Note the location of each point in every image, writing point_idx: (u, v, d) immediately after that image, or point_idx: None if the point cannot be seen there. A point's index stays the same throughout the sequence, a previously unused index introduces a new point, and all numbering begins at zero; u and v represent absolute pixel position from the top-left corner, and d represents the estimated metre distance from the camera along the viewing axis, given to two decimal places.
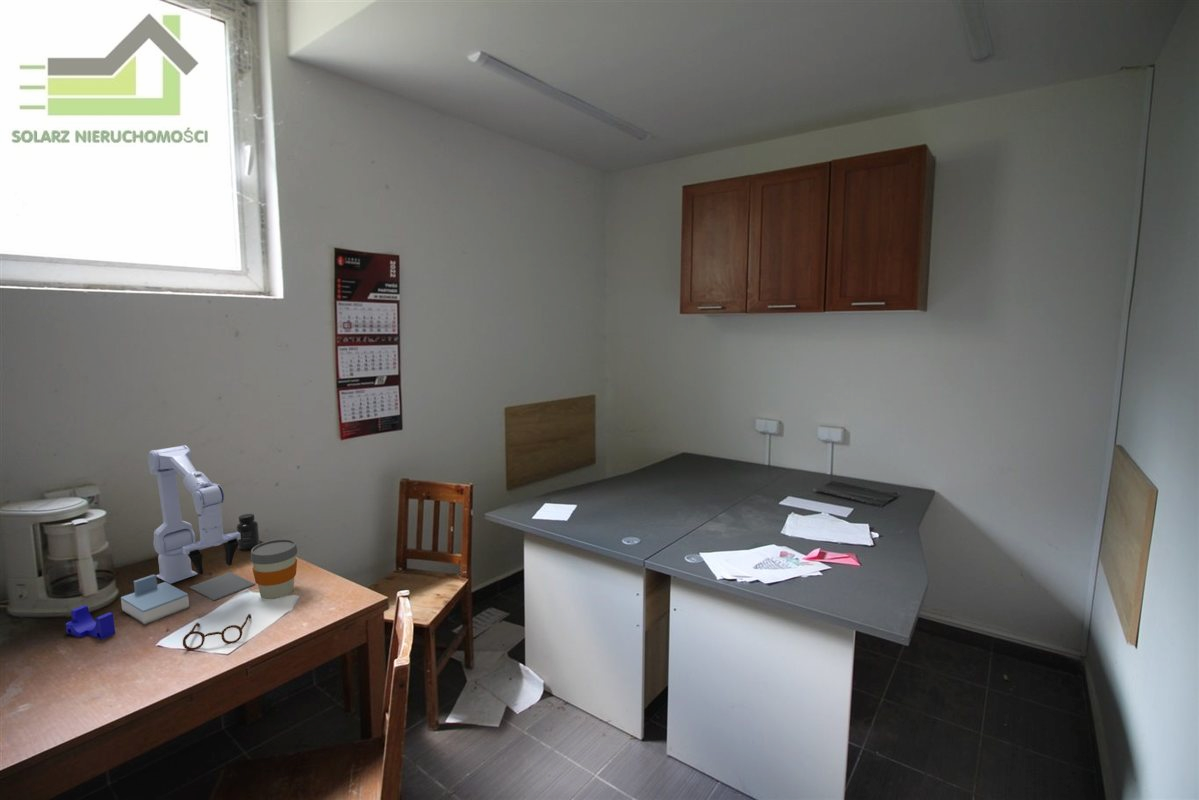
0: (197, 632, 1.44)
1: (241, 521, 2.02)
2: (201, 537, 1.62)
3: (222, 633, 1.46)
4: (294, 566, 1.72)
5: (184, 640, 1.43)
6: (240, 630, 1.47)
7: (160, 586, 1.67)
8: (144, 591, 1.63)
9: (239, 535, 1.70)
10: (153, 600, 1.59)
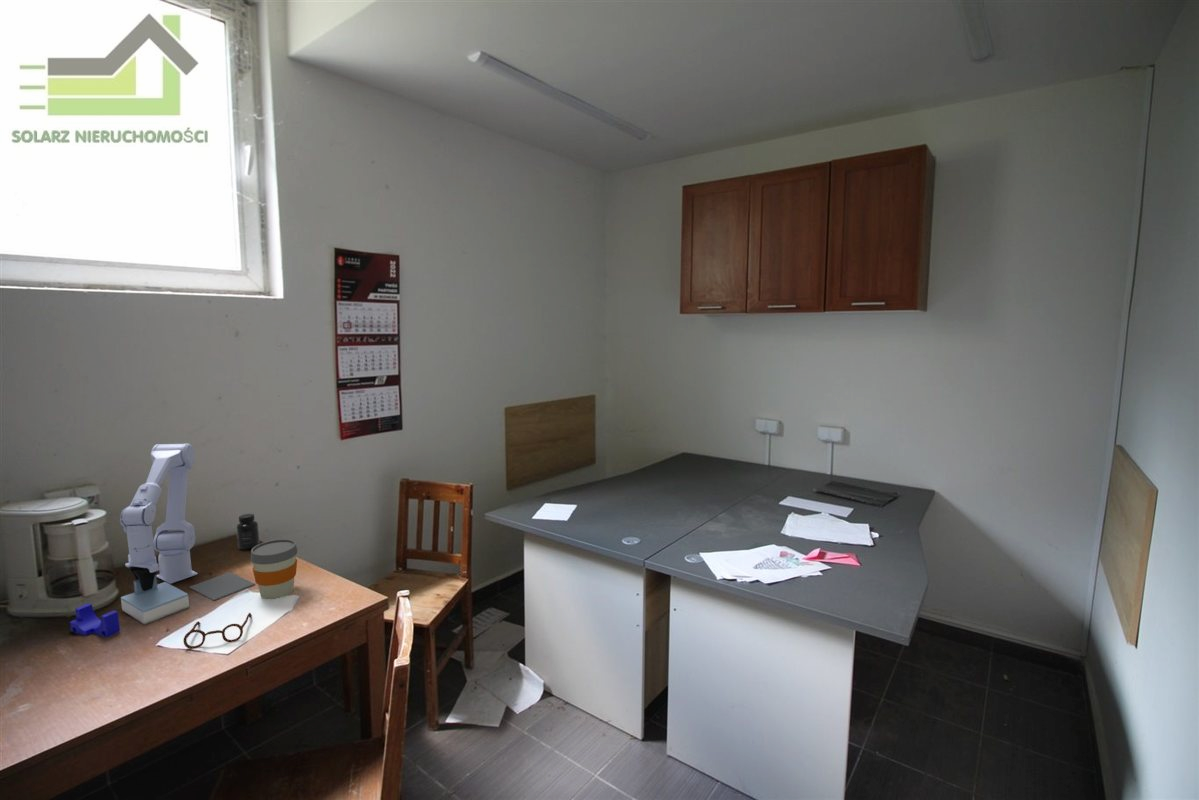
0: (198, 631, 1.44)
1: (241, 521, 2.02)
2: None
3: (223, 632, 1.46)
4: (294, 566, 1.72)
5: (185, 638, 1.43)
6: (241, 629, 1.48)
7: (160, 586, 1.67)
8: (144, 591, 1.63)
9: (149, 568, 1.58)
10: (153, 600, 1.59)
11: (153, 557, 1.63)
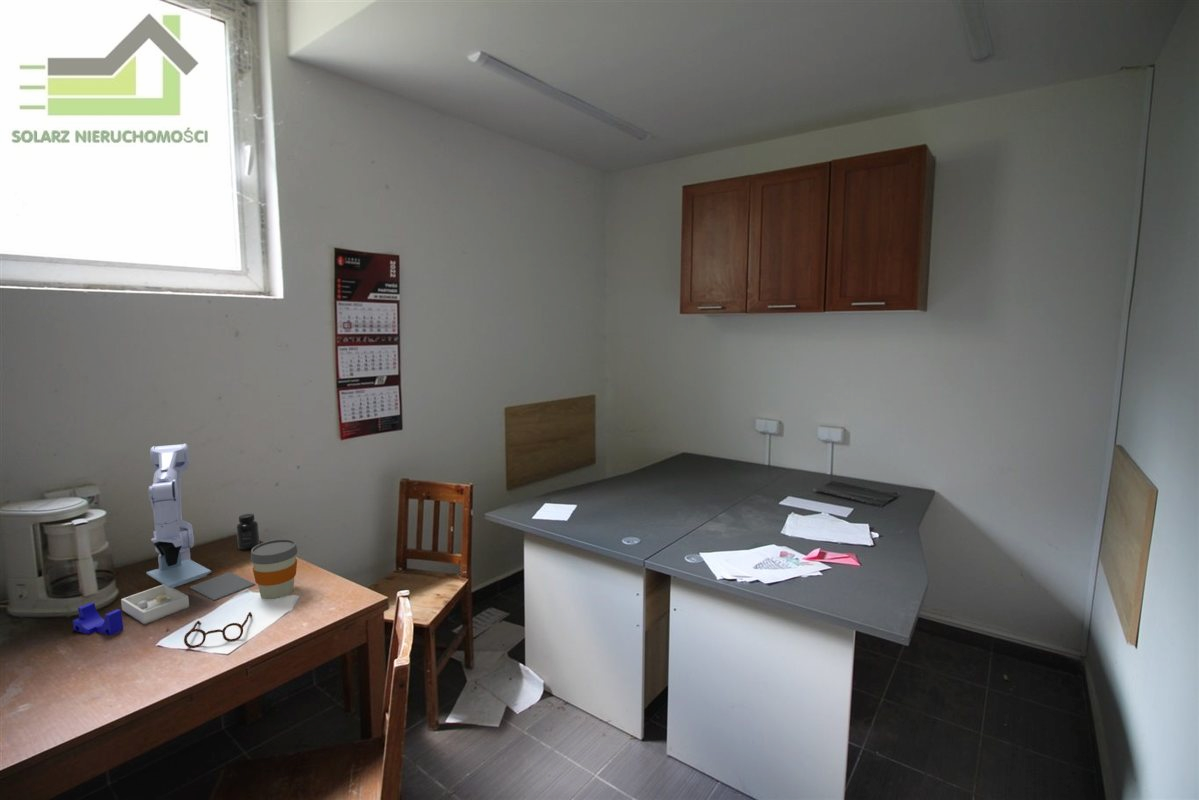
0: (198, 630, 1.45)
1: (241, 521, 2.02)
2: None
3: (223, 631, 1.47)
4: (294, 566, 1.72)
5: (185, 638, 1.43)
6: (241, 628, 1.48)
7: (184, 563, 1.71)
8: (169, 567, 1.67)
9: (174, 543, 1.62)
10: (178, 575, 1.63)
11: (178, 533, 1.67)
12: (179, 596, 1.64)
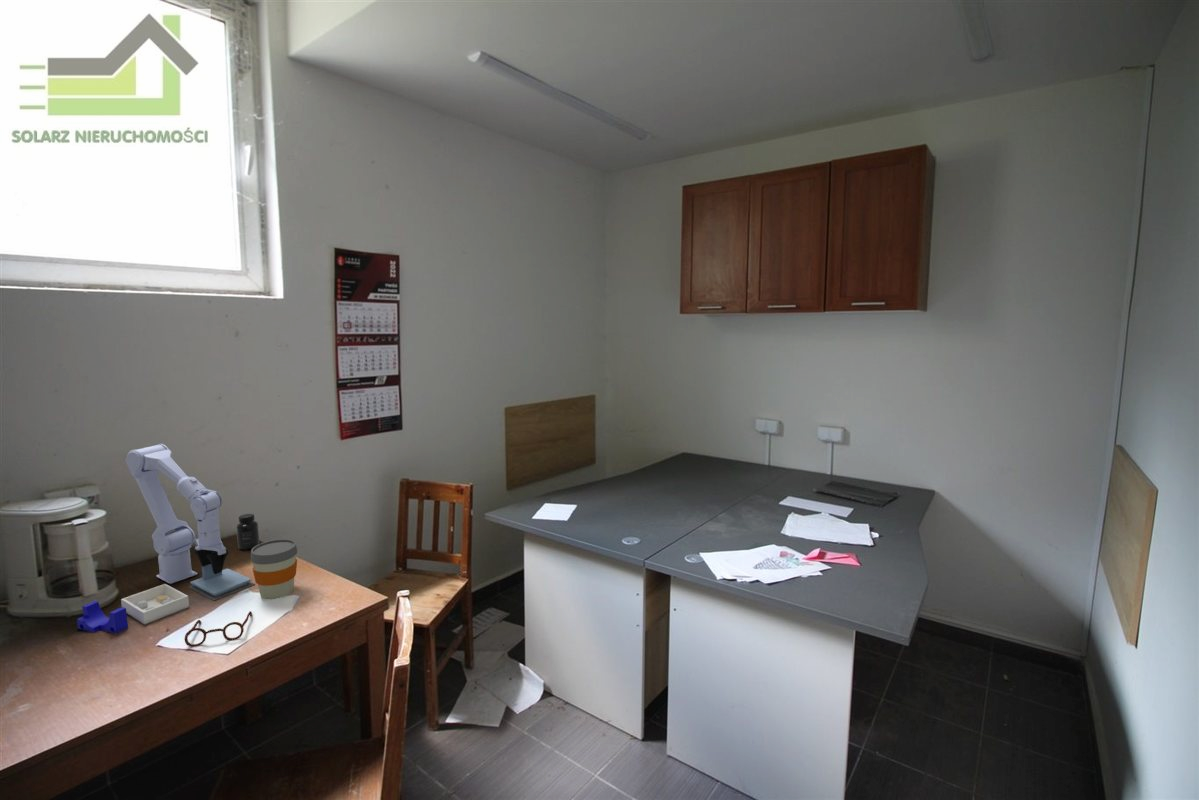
0: (199, 629, 1.45)
1: (241, 521, 2.02)
2: None
3: (223, 630, 1.47)
4: (294, 566, 1.72)
5: (186, 637, 1.44)
6: (241, 627, 1.49)
7: (224, 572, 1.81)
8: (211, 576, 1.77)
9: (218, 551, 1.72)
10: (221, 584, 1.73)
11: (219, 541, 1.77)
12: (179, 596, 1.64)
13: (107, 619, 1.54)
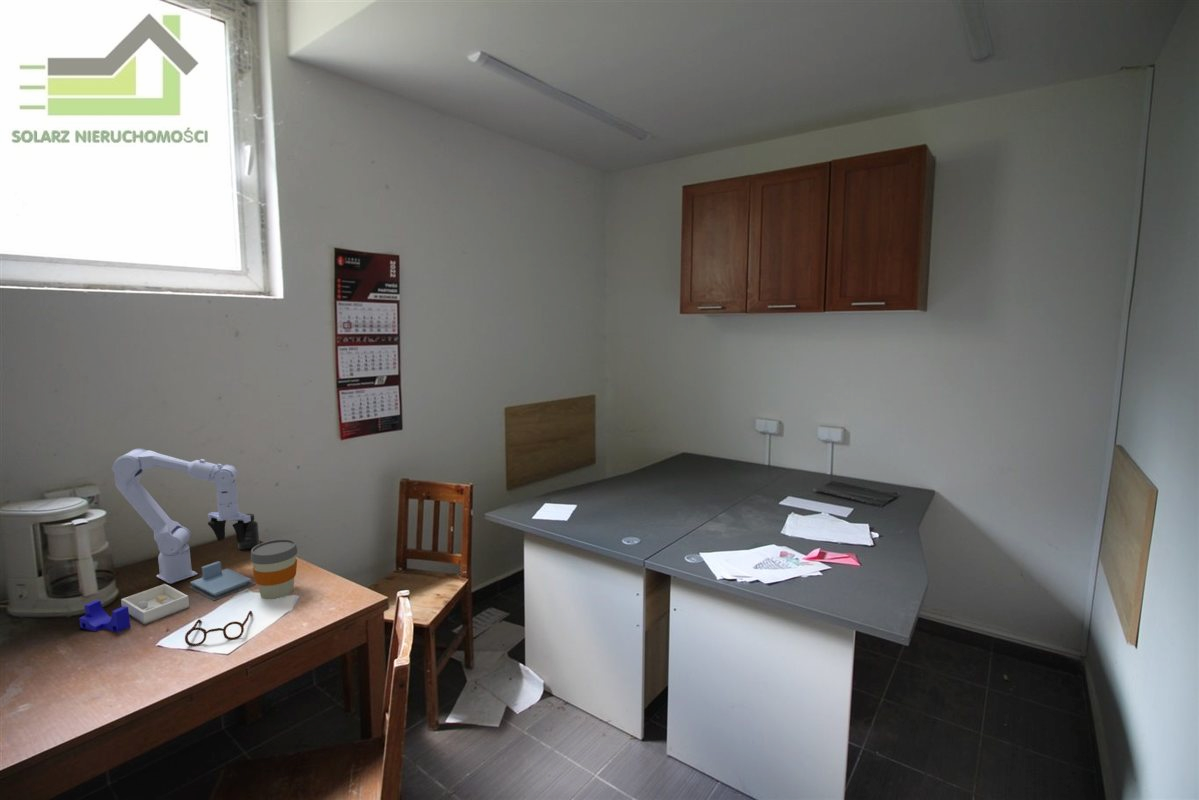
0: (199, 628, 1.45)
1: None
2: None
3: (224, 629, 1.47)
4: (294, 566, 1.72)
5: (186, 636, 1.44)
6: (242, 626, 1.49)
7: (224, 572, 1.81)
8: (211, 576, 1.77)
9: (244, 519, 1.82)
10: (221, 584, 1.73)
11: (239, 512, 1.85)
12: (179, 596, 1.64)
13: (109, 618, 1.54)
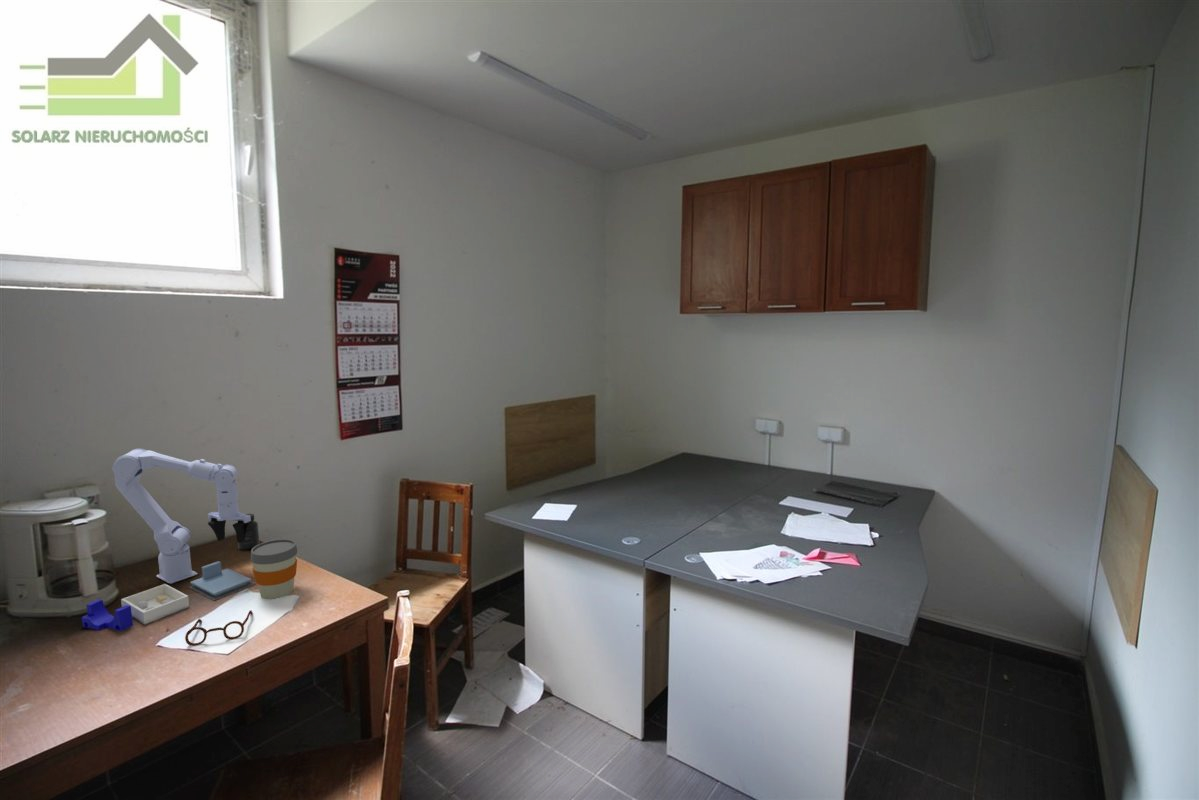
0: (199, 628, 1.46)
1: None
2: None
3: (224, 629, 1.47)
4: (294, 566, 1.72)
5: (186, 636, 1.44)
6: (242, 626, 1.49)
7: (224, 572, 1.81)
8: (211, 576, 1.77)
9: (245, 519, 1.82)
10: (221, 584, 1.73)
11: None
12: (179, 596, 1.64)
13: (111, 617, 1.55)
